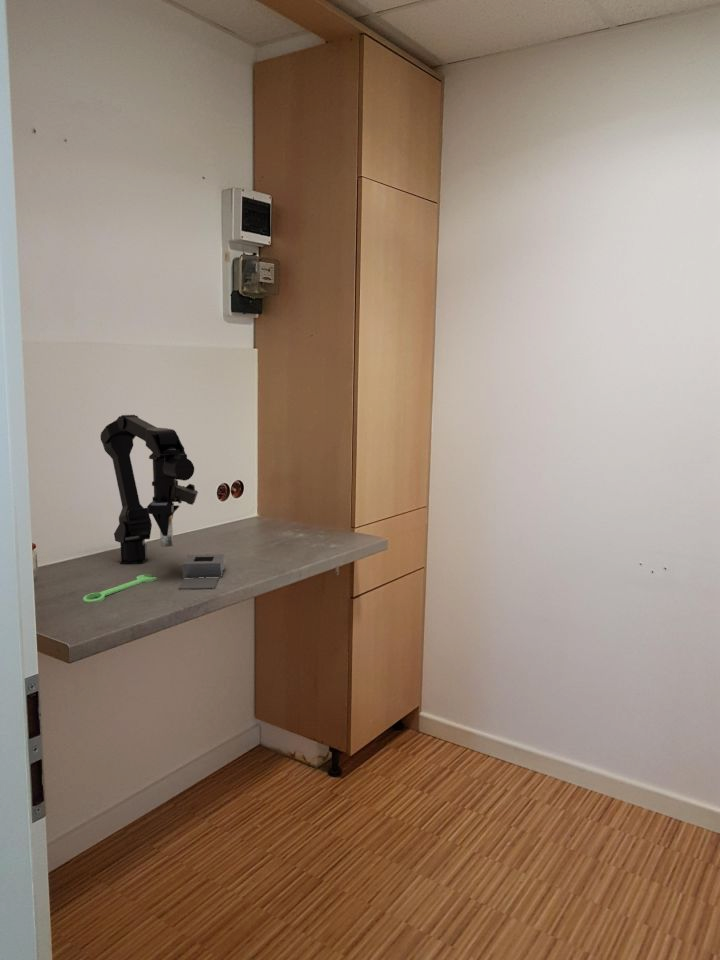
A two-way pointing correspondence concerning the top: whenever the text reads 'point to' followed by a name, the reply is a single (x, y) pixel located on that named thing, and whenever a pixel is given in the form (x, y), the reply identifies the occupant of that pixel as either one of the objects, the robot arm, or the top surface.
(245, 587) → the top surface
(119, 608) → the top surface
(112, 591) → the wrench
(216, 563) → the block
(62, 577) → the top surface
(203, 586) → the rubber mat
